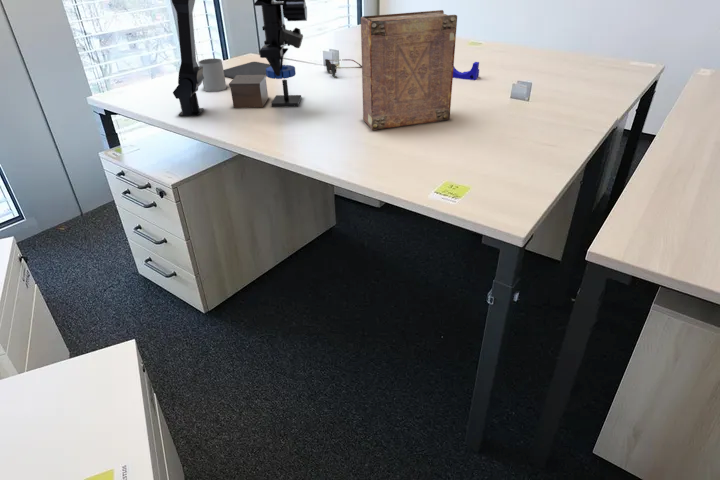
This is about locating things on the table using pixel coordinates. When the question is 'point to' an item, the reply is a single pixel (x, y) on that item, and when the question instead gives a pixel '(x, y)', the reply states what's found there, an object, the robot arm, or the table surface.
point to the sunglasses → (334, 67)
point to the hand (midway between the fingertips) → (279, 74)
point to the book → (407, 68)
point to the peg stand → (286, 98)
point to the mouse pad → (247, 69)
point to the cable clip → (468, 73)
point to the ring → (281, 72)
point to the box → (249, 91)
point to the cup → (213, 75)
